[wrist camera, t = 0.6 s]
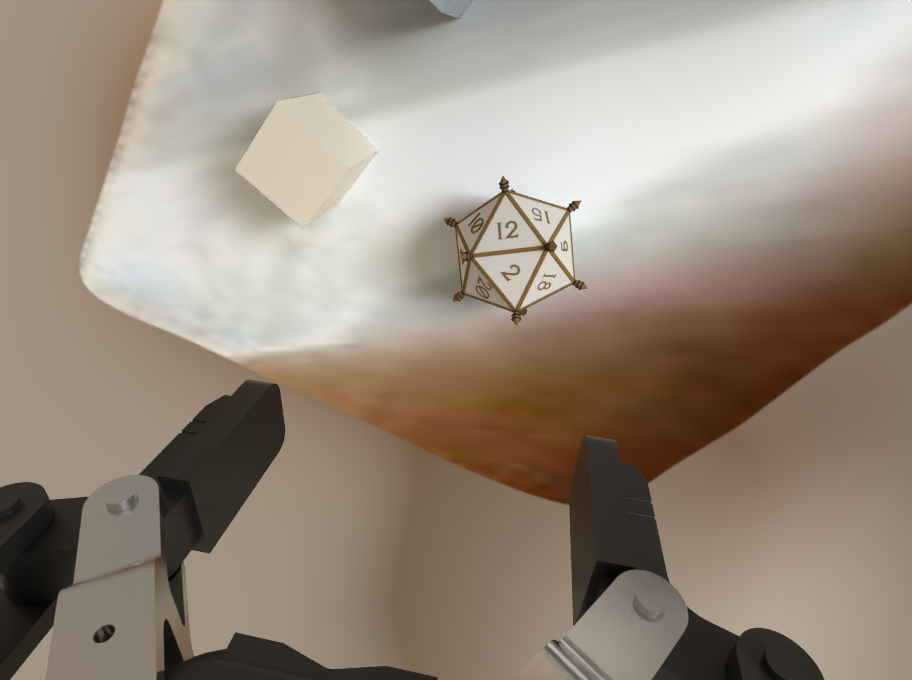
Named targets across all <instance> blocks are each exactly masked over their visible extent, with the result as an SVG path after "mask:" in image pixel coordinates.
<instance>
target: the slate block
mask: <svg viewBox="0 0 912 680" xmlns="http://www.w3.org/2000/svg"><path fill="white" fill-rule="evenodd" d="M430 1H431V2H432V3H433V5H434V6H435V7H436V8H437V9H438V10H439V11H440V12H442V13H445V14H447V15H450V16H453V17H455V18H458V19H459V18H460V17H461V16H462V14H463V13H464V12H465V10H466V9H467V8H468V6H469V5H470V4H471V3H472V1H473V0H430Z"/></svg>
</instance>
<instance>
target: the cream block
mask: <svg viewBox="0 0 912 680" xmlns="http://www.w3.org/2000/svg"><path fill="white" fill-rule="evenodd" d="M378 152H379V149H378V148H377V147H376V146H375V145H374V144H373V143H372V142H371V141H370V140H369V139H368V138H367V137H365V136H364V135H363V134H362V133H361V132H360V131H359V130H358V129H357V128H356V127H355V126H354V125H353V124H352V123H351V122H350V121H349V120H348V119H347V118H346V117H344V116H343V115H342V114H341V113H340V112H339V111H338V110H337V109H336V108H335V107H334V106H333V105H332V104H331V103H330V102H329V101H328V100H327V99H326V98H325V97H324V96H322V95H321V94H320V93H319V94H313V95H308V96H302V97H296V98H290V99H285V100H279V101H277V102H276V104H275V106H274V107H273V109H272V110H271V112H270V114H269V115H268V117H267V119H266V120H265V122H264V123H263V125H262V127H261V128H260V130H259V131H258V133H257V135H256V136H255V138H254V139H253V141H252V143H251V144H250V146H249V147H248V149H247V151H246V152H245V154H244V155H243V157H242V159H241V160H240V162H239V163H238V165H237V167H236V168H235V170H236V171H237V172H238V173H239V174H240V175H241V176H243V177H244V178H245V179H246V180H247V181H248V182H249V183H251V184H252V185H253V186H254V187H255V188H256V189H258V190H259V191H260V192H261V193H262V194H263V195H265V196H266V197H267V198H268V199H269V200H270V201H271V202H273V203H274V204H275V205H276V206H277V207H278V208H280V209H281V210H282V211H283V212H284V213H285V214H286V215H288V216H289V217H290V218H291V219H292V220H293V221H295V222H296V223H297V224H298V225H299V226H300V227H301V228H305V227H306V226H308V225H309V224H310V223H312V222H313V221H315V220H316V219H317V218H319V217H320V216H321V215H323V214H324V213H326V212H327V211H328V210H330V209H331V208H333V207H334V206H335V205H337V204H338V203H339V202H340V200H341V199H342V198H343V197H344V195H345V194H346V193H347V191H348V190H349V189H350V188H351V186H352V185H353V184H354V182H355V181H356V180H357V179H358V177H359V176H360V175H361V173H362V172H363V171H364V170H365V168H366V167H367V166H368V164H369V163H370V162H371V161H372V159H373V158H374V157H375V156H376V154H377V153H378Z"/></svg>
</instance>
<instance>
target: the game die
mask: <svg viewBox="0 0 912 680" xmlns="http://www.w3.org/2000/svg"><path fill="white" fill-rule="evenodd" d="M508 183H509V182H508V180H506V179H505V178H504V176H503V177H502V179H501V181H500V183H499V185H500V188H501V190H502V192H501V193H499V194H498V195H496V196H495V197H493V198H492V199H491V200H489V201H488V202H486V203H485V204H483V205H482V206H481V207H479V208H478V209H476V210H475V211H473V212H472V213H471V214H469V215H468V216H466V217H465V218H464V219H462V220H461V221H459V222H456V221H455V219H452V217H450V218H446V219H444V220H445V222H446V223H447V225H448V226H449V225H450V226H451V227H452V226H453V227H455V230H456V239H457V249H458V259H459V268H460V278H461V288H462V291H461V292H458V293H457V294H455V295H454V299H453V301H460V300H461V299H463V297H464V295H467V296H469V297H472V298H475V299H478V300H481V301H483V302H486V303H489V304H492V305H495V306H497V307H500V308H503V309H506V310H509V311H511V312H513V315H512V319H511V320H512V321H514V323H515V324H516V326H517V324H518V322H519V321H520V320H521V318H520V316H521V315H522V316H524V315H525V314H526V312H527V310H526V308H528V307H530V306H532V305H534V304H535V303H537V302H539V301H541V300H543V299H545V298H547V297H549V296H551V295H553V294H555V293H557V292H559V291H561V290H563V289H565V288H567V287H568V286H570V285H574V286H575V287H576V288H578V289H579V290H580V289H587V287H586V285H585V284H584V282H581V281H580V280H579V281H578V280H575V273H574V260H573V247H572V233H571V220H570V212H572V211H575V209H578V206H579V204H580V202H581V201H572V203H571V204H569V206H568V208H564V207H561V206H558V205H554V204H551V203H548V202H545V201H541V200H538V199H535V198H532V197H528V196H525V195H522V194H519V193H516V192H515V191H513V189H512V190H511V191H509V190H508V187H509V185H508ZM519 313H520V314H519Z"/></svg>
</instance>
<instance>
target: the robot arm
mask: <svg viewBox="0 0 912 680" xmlns="http://www.w3.org/2000/svg"><path fill="white" fill-rule="evenodd" d="M284 437H285V423H284V416H283V409H282V402H281V395H280V389H279V386H278V385H277V384H274V383H268V382H262V381H256V380H246V381H245V382H244V383H243V384H242V385H241V386H240V387H239V388H238V389H237V390H236V391H235V392H234V393H233V395H232V396H228V395H224V396H222V397H221V398H219V399H217V400H215V401H213V402H212V403H210V404H208V405H206V406H205V407H204V408H203V409H202V410H201V411H200V412H199V413H198V414H197V415H196V417H195V418H194V419H193V421H192V422H190V423H189V424H188V425H187V426H186V427H185V428H184V429H183V430H182V433H179V434H178V435H177V436H176V437H175V438H174V439H173V440H172V441H171V442H170V443H169V444H168V446H166V447H165V448H164V449H163V450H162V452H161V453H160V454H159V455H158V456H157V457H156V458H155V459H154V460H153V461H152V462H151V463H150V464H149V465H148V466H147V467H146V468H145V469H144V470H143V471H142V472H141V473H140V474H139V475H130V476H125V477H121V478H117V479H115V480H112V481H110V482H108V483H106V484H104V485H103V486H101V487H100V488H98V489H97V490H96V491H94V492H93V493H92V494H91V495H90V496H89V497H80V498H68V499H57V500H49V497H48V495H47V493H46V491H45V489H44V488H43V487H42V486H41V485H39V484H35V483H30V482H22V483H15V484H10V485H6V486H4V487H1V488H0V680H10V679H11V678H12V676H13V675H14V674H15V673H16V671H17V670H18V669H19V668H20V666H21V665H22V664H23V663H24V661H25V660H26V659H27V657H28V656H29V655H30V654H31V653H32V651H33V650H34V649H35V648H36V646H37V645H38V644H39V643H40V641H41V640H42V639H43V638H44V636H45V635H46V634H47V633H48V631H49V630H50V629H51V628H52V626H53V632H52V639H51V646H50V653H49V659H48V666H47V673H46V680H437V677H433V676H429V675H424V674H420V673H415V672H411V671H406V670H402V669H397V668H393V667H388V666H378V667H364V668H347V669H328V668H325V667H323V666H322V665H320V664H318V663H316V662H315V661H313V660H311V659H309V658H308V657H306V656H304V655H303V654H301V653H299V652H298V651H296V650H294V649H292V648H291V647H289V646H287V645H286V644H284V643H280V642H276V641H271V640H267V639H262V638H258V637H253V636H249V635H244V634H240V633H235V634H234V636H233V638H232V640H231V642H230V644H229V645H228V647H227V649H223V650H217V651H212V652H208V653H204V654H201V655H198V656H195V657H194V654H193V650H192V645H191V638H190V629H189V615H188V601H187V588H186V575H185V566H184V562H183V560H184V559H185V558H186V557H187V555H188V554H189V552H190V551H191V550H195V551H200V552H205V553H210V552H211V551H212V549H213V548H214V546H215V545H216V543H217V542H218V541H219V539H220V538H221V536H222V535H223V533H224V532H225V530H226V529H227V527H228V526H229V524H230V523H231V522H232V520H233V519H234V517H235V516H236V514H237V513H238V511H239V510H240V508H241V507H242V505H243V504H244V502H245V501H246V500H247V498H248V497H249V495H250V494H251V492H252V490H253V489H254V488H255V486H256V485H257V483H258V482H259V480H260V479H261V478H262V476H263V475H264V473H265V472H266V470H267V469H268V467H269V466H270V464H271V463H272V461H273V460H274V458H275V457H276V456H277V454H278V452H279V451H280V449H281V447H282V444H283V441H284ZM569 506H570V537H571V567H572V600H573V627H572V629H571V630H570V631H569V632H568V633H567V634H566V635H565V636H564V637H563V638H562V639H561V640H560V641H558V642H557V641H556V640H552V641H551V642H549V643H548V644H547V645H546V646H544V647H543V648H542V649H541V651H540V652H539V653H538V654H537V655H536V656H535V657H534V658H533V659H532V660H531V661H530V663H529V664H528V665H527V666H526V667H525V668H524V669H523V670H522V671H521V673H520V674H519V675H518V676H517V677H516V678H515V679H514V680H824V678H823V675H822V673H821V671H820V670H819V668H818V666H817V665H816V664H815V662H814V661H813V660H812V658H811V657H810V656H809V655H808V654H807V653H806V652H805V651H804V650H803V649H802V648H801V647H800V646H799V645H797V644H796V643H795V642H793V641H792V640H791V639H789V638H787V637H786V636H784V635H782V634H780V633H777V632H776V631H772V630H769V629H764V628H753V629H749V630H747V631H745V632H743V633H742V634H741V636H740V637H739V636H737V635H735V634H733V633H731V632H729V631H727V630H725V629H723V628H721V627H719V626H717V625H715V624H713V623H711V622H709V621H707V620H705V619H703V618H702V617H700V616H698V615H697V614H696V613H694V612H693V611H692V610H690V609H689V608H688V607H687V606H686V604H685V602H684V600H683V598H682V597H681V595H680V594H679V592H678V591H677V590H676V589H675V588H674V587H673V586H672V585H671V584H670V582H669V579H668V576H667V572H666V567H665V563H664V558H663V553H662V549H661V544H660V539H659V534H658V529H657V525H656V520H655V519H654V516H655V515H654V511H653V506H652V504H651V496H650V492H649V487H648V482H647V481H646V479H645V478H644V477H643V475H642V474H641V472H640V471H639V469H638V468H637V467H636V465H634V464H628V463H622V462H619V456H618V450H617V444H616V441H615V440H612V439H606V438H600V437H594V436H588V435H585V436H584V437H583V440H582V443H581V447H580V451H579V455H578V458H577V462H576V466H575V470H574V474H573V478H572V482H571V489H570V501H569Z"/></svg>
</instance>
